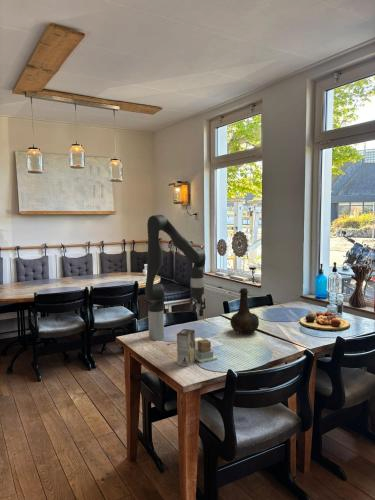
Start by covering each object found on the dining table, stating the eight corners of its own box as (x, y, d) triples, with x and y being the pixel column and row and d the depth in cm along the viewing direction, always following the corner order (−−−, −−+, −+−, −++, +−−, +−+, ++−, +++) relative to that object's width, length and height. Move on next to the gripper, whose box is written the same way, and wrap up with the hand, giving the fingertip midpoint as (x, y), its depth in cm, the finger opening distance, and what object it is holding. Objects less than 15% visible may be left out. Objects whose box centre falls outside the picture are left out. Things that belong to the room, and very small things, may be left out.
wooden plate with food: (358, 331, 239) (358, 318, 238) (307, 331, 240) (307, 318, 239) (339, 318, 271) (339, 307, 270) (294, 318, 272) (294, 307, 271)
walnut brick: (197, 349, 199) (197, 340, 198) (206, 348, 201) (206, 339, 201) (202, 352, 194) (202, 343, 194) (210, 351, 197) (210, 341, 196)
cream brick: (192, 347, 214) (192, 338, 214) (200, 345, 217) (200, 337, 216) (196, 350, 210) (196, 341, 209) (204, 348, 212) (204, 340, 212)
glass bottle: (258, 337, 230) (258, 291, 227) (229, 335, 234) (229, 291, 231) (259, 328, 247) (259, 286, 245) (231, 327, 251) (231, 285, 248)
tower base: (191, 356, 200) (191, 349, 200) (208, 353, 205) (208, 346, 204) (200, 362, 191) (200, 355, 191) (217, 359, 196) (217, 351, 195)
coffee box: (184, 358, 198) (183, 328, 196) (195, 360, 195) (195, 329, 194) (177, 365, 189) (176, 333, 188) (189, 366, 187) (188, 335, 185)
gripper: (185, 284, 215) (186, 312, 216) (197, 288, 202) (197, 318, 203) (197, 283, 218) (198, 310, 219) (209, 287, 205) (209, 316, 207)
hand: (197, 314), depth 211 cm, fingers open, 8 cm apart
